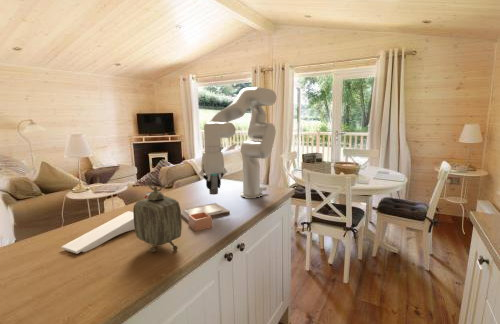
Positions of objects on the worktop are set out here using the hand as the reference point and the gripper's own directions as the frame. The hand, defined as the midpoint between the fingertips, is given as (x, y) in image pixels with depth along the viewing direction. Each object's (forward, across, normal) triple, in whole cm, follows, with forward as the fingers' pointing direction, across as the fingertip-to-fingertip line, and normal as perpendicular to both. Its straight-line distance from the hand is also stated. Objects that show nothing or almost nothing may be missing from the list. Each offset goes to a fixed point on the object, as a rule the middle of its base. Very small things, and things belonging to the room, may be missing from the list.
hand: (213, 187), depth 130 cm
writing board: (+12, +6, 0) cm, 13 cm away
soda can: (+12, +26, -6) cm, 30 cm away
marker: (+3, 0, 0) cm, 3 cm away
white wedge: (+13, +46, +2) cm, 48 cm away
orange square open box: (+12, +12, +13) cm, 22 cm away
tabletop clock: (+13, +32, +24) cm, 42 cm away
